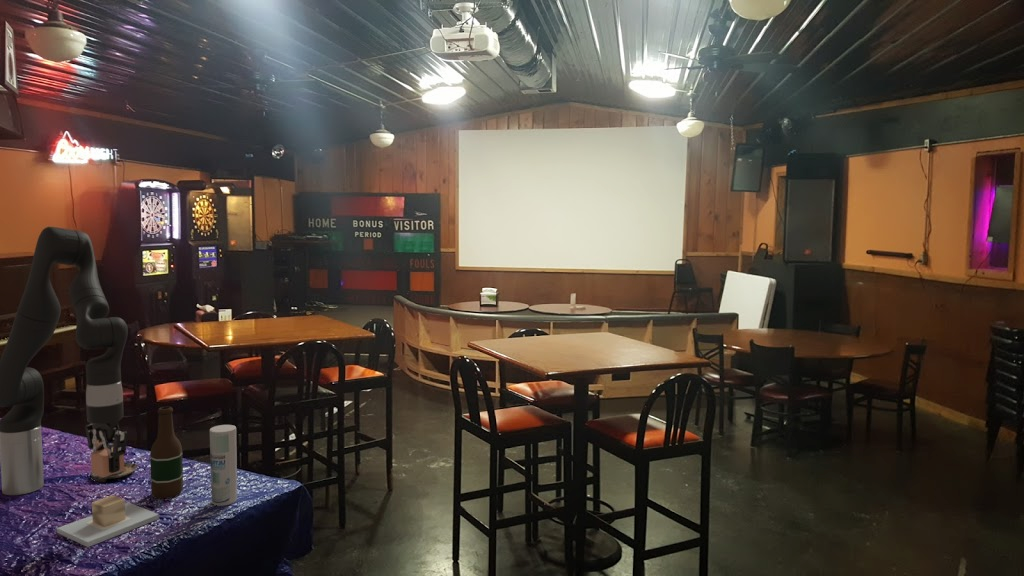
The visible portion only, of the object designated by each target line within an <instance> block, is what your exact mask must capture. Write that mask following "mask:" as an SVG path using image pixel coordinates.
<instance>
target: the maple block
mask: <svg viewBox="0 0 1024 576" xmlns="http://www.w3.org/2000/svg"><path fill="white" fill-rule="evenodd" d="M125 503H126V500H125V498H121V497H119V496H116V495H113V494H112V495H109V496H105V497H104V498H100V499H97V500H95V501H92V502H91V511H92V512H91V513H92V514H91V516H92V518H93V522H94V523H96V524H98V525H101V526H103V527H106V526H109V525H112V524H114V523H117V522H119V521H122V520H125Z"/></svg>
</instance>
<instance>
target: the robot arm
mask: <svg viewBox="0 0 1024 576" xmlns="http://www.w3.org/2000/svg"><path fill="white" fill-rule="evenodd" d="M53 264H58V265H67V266H75V267H76V268H77V270H78V272H77V275H76V276H75V278H74V279H73V281H72V282H71V284H70V287H69V289H68V290H69V291H68V294H69V295H68V297H69V301H70V302H71V305H72V308H73V310H74V313H75V317H76V319H75V320H76V326H75V327H76V328H75V341H76V343H77V345H79V347H81V348H82V349H84V350H96V349H106V348H107V350H106V351H105V352H104V354H102V355H99V356H96V357H94V358H91V359H89V360H88V361H87V362H86V364H85V373H86V375H85V377H86V389H85V390H86V391H85V405H86V420H87V421H86V422H88V424H86V425H85V426H84V429H85V434H86V440H87V445H88V449H89V450H92V452H96V451H99V450H103V449H106V450H107V453H108V457H109V458H108V459H109V472H110V473H114V472H117V471H119V470H120V461H119V457H120V455H123V454H124V455H125V454H126V452H127V443H128V435H129V434H128V431H126V430H125V431H121V428H120V425H119V422H120V420H122V419H123V418H124V416H125V415H124V390H123V386H122V372H121V370H122V369H121V368H122V367H121V365H122V359H123V354H124V353H123V352H124V349H125V347H126V342H127V339H128V334H129V328H128V324H127V323H126V322H125V320H124V319H122V318H121V317H118V316H114V317H113V316H112V317H108V315H109V313H110V306H109V303H108V301H107V298H106V296H105V294H104V291H103V289H102V286H101V283H100V280H99V274H98V267H97V261H96V256H95V250H94V246H93V243H92V240H91V238H90V236H89V234H87V233H86V232H84V231H81V230H76V229H69V228H63V227H62V228H61V227H56V226H46V227H44V228H43V229H42V230H41V232H40V234H39V235H38V238H37V241H36V245H35V248H34V253H33V258H32V263H31V265H30V271H29V275H28V279H27V283H26V284H25V288H24V292H23V294H22V296H21V299H20V302H19V305H18V307H17V310H16V312H15V316H14V320H13V322H12V327H11V331H10V332H9V335H8V338H7V341H6V344H5V347H4V349H3V352H2V354H1V356H0V408H7V407H8V408H9V407H11V409H10V410H9V411H8V412H7V413H6V414H5V415H4V416H3V417H1V418H0V476H1V480H0V481H1V493H2V494H3V495H7V496H19V495H26V494H29V493H33V492H36V491H38V490H40V489H42V488H43V487H44V486H45V485H44V484H45V481H44V479H45V478H44V459H43V458H44V457H43V442H42V441H43V439H42V437H43V436H42V423H41V422H42V418H43V416H44V408H45V407H44V406H45V405H44V404H45V400H44V399H45V388H44V380H43V377H42V375H41V374H40V372H39V370H37V369H35V368H33V367H29V366H28V365H29V363H30V362H31V361H32V359H33V358H34V357H35V356H36V355H37V354H38V353H39V352H40V350H42V349H43V347H45V345H46V344H47V343H48V341H50V339H51V338H52V336H54V333H55V331H56V329H57V326H58V323H59V320H60V317H61V313H62V308H61V304H60V301H59V298H58V297H57V294H56V292H55V289H54V288H53V285H52V282H51V279H50V278H51V276H50V275H51V268H52V266H53ZM111 443H112V444H111ZM112 447H113V452H112V449H111V448H112Z"/></svg>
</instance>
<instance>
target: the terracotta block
mask: <svg viewBox="0 0 1024 576" xmlns="http://www.w3.org/2000/svg"><path fill="white" fill-rule="evenodd" d="M111 449H112V452H113V447H112V448H111ZM108 458H109V457H108V453H107V450H106V449H103V450H99V451H96V452H93V451H92V452H90V465H91V467H90V469H91V472H92V473H93V474H96V475H98V476H101V477H106V476H109V475H112V474H116V473H119V472H122V471H124V463H125V454H123V455H120V457H119V461H120V470H119V471H117V472H114V473H110V472H109V459H108Z"/></svg>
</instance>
